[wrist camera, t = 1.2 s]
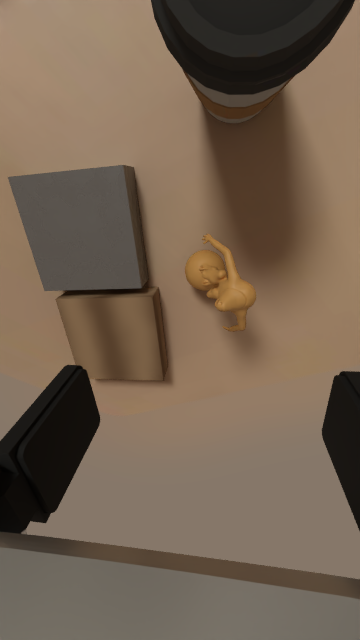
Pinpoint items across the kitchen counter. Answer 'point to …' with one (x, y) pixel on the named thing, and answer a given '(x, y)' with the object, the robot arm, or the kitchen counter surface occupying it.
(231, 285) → the figurine
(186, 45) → the coffee cup
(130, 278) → the grey metal stand
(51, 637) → the robot arm
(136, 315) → the walnut stand
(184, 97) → the kitchen counter surface
